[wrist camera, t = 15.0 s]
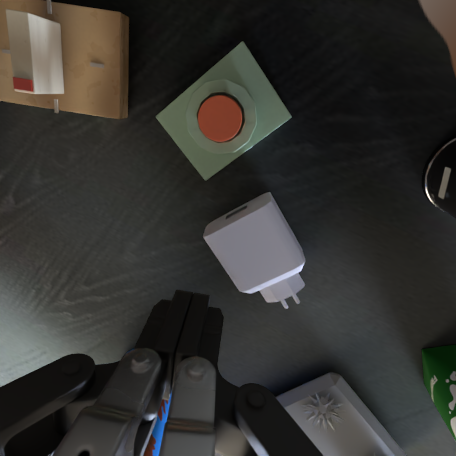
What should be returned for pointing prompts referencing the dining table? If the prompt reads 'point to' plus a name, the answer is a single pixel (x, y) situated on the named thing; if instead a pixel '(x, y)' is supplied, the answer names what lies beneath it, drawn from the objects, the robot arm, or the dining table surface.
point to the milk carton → (442, 381)
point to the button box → (246, 99)
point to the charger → (258, 249)
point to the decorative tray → (337, 419)
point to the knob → (35, 53)
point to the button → (220, 118)
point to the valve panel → (76, 59)
